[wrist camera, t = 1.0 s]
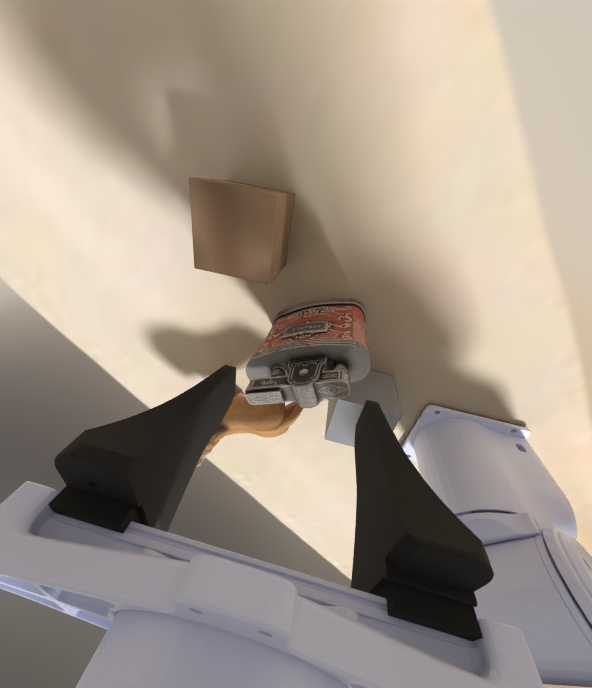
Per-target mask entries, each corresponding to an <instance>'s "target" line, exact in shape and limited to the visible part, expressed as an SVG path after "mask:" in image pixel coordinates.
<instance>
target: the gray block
mask: <svg viewBox="0 0 592 688" xmlns="http://www.w3.org/2000/svg"><path fill="white" fill-rule="evenodd" d="M366 400H370V401H374V402H378V403H379V405H380V407H381V409H382V411H383V413H384V415H385V417H386V419H387V421H388V423H389V425H390V427H391V429H392V431H393V430H394V428H395V427H396V425H397V423H398V421H399V419H400V417H401V416H402V413H401V408H400V404H399V399H398V395H397V390H396V386H395V382H394V377H393V376H392V375H388V374H384V373H380V372H375V371H371V370H370V372H369V374H368V375H367V376H366V377H365V378H364V379H362V380H360V381H357V382H353V383H350V395H349V396H347V397H344V398H334V399H329V403H328V413H327V422H326V431H325V439H326V440H330V441H334V442H338V443H341V444H345V445H349V446H353V447H355V445H354V442H355V427H356V423H357V421H358V419H359V416H360V414H361V412H362V409H363V407H364V404H365V402H366Z"/></svg>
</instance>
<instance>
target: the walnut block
mask: <svg viewBox="0 0 592 688" xmlns="http://www.w3.org/2000/svg"><path fill="white" fill-rule="evenodd" d="M189 184H190V200H191V217H192V233H193V250H194V266H195V268H196V269H201V270H205V271H210V272H215V273H219V274H224V275H228V276H233V277H238V278H242V279H247V280H251V281H256V282H260V283H265V284H269V283H270V282H271V281H272V280H273V278H274V277H275V276H276V275H277V274H278V273H279V272H280V271H281V269H282V268H283V267H284V266H285V264H286V256H287V249H288V241H289V233H290V226H291V218H292V211H293V203H294V195H295V193H290V192H285V191H280V190H274V189H269V188H264V187H258V186H253V185H248V184H243V183H237V182H232V181H227V180H214V179H201V178H189Z"/></svg>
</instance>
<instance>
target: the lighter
mask: <svg viewBox="0 0 592 688" xmlns="http://www.w3.org/2000/svg"><path fill="white" fill-rule="evenodd" d="M365 321H366V312H365V308H364V306H363V304H362V303H361V302H360V301H358V300H356V299H326V300H318V301H312V302H308V303H304V304H301V305H297V306H294V307H292V308H289V309H287V310H284V311H282V312H280V313H278V314H277V316H276V317H275V319H274V321H273V324H272V328H271V330H270V332H269V333H268V335H267V337H266V339H265V340H264V342H263V344H262V345H261V347H260V349H259V351H258V352H257V353H255V354H254V355H253V356H252V357H251V359H250V361H249V362H248V364H247V366H246V373H247V377H248V378H249V380H250V383H249V385H248V386H247V388H246V390H245V393H244V394H245V397H246V399H247V400H248V402H249V404H251V405H260V404H273V403H284V402H296V403H298V405H299V406H300V407H302V408H312V407H315V406H317V405H318V404H319V403H320V402H321V401H323V400H324V399H334V398H344V397H347V396H349V395H350V383H353V382H357V381H360V380H362V379H364V378H365V377H366V376H367V375H368V374H369V372H370V370H371V357H370V353H369V350H368V348H367V346H366V335H365V325H364V324H365Z"/></svg>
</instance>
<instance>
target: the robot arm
mask: <svg viewBox="0 0 592 688" xmlns="http://www.w3.org/2000/svg"><path fill="white" fill-rule="evenodd" d="M235 383H236V367H232V366H228V365H225V366H223V367H221V368H220V369H219V370H217V371H216V372H214V373H213V374H212V375H210V376H209V377H207V378H206V379H204V380H203V381H201V382H200V383H198V384H197V385H195V386H194V387H192V388H190V389H189V390H187V391H185V392H184V393H182V394H180V395H179V396H177V397H175V398H173V399H171V400H169V401H167V402H165V403H163V404H161V405H159V406H157V407H154V408H152V409H150V410H148V411H145V412H142V413H140V414H138V415H135V416H132V417H130V418H127V419H124V420H121V421H117V422H114V423H111V424H108V425H104V426H100V427H97V428H93V429H89V430H85V431H84V432H83V433H82V434H80V435H79V436H78V437H77V438H76V439H75V440H74V441H73V442H71V443H70V444H69V445H68V446H67V447H66V448H65V449H64V450H63V451H62V452H61V453H59V454H58V455H57V456H56V458H55V466H56V469H57V470H58V472H59V474H60V475H61V477H62V478H63V480H64V482H65V483H66V485H67V486H66V487H65V488H64V489H63V490H62V491H61V492H60V493H59V492H58V491H56V490H55V489H52V488H50V487H47V486H43V485H40V484H37V483H33V482H30V481H28V482H25V483H24V484H23V485H22V486H20V487H19V488H18V489H17V490H16V491H15V492H14V493H13V494H11V495H10V496H9V497H8V498H7V499H6V500H5V501H4V502H3V503H2V504H0V589H3V590H6V591H9V592H12V593H14V594H17V595H20V596H23V597H25V598H28V599H31V600H33V601H36V602H38V603H41V604H44V605H46V606H49V607H51V608H54V609H56V610H59V611H62V612H64V613H67V614H69V615H72V616H74V617H77V618H79V619H82V620H85V621H87V622H89V623H92V624H95V625H97V626H100V627H102V628H105V629H107V632H106V634H105V636H104V637H103V639H102V641H101V643H100V645H99V647H98V648H97V650H96V652H95V654H94V656H93V657H92V659H91V661H90V663H89V664H88V666H87V668H86V670H85V672H84V673H83V675H82V677H81V679H80V681H79V683H78V684H77V686H76V688H554V687H544V686H543V684H553V685H568V686H584V687H592V557H591V556H590V554H589V553H588V552H587V551H586V550H585V549H584V547H583V546H582V545H581V544H580V543H579V542H578V541H577V540H576V538H577V525H576V519H575V515H574V512H573V509H572V507H571V505H570V503H569V501H568V499H567V498H566V496H565V495H564V493H563V492H562V490H561V489H560V487H559V486H558V485H557V483H556V482H555V480H554V479H553V477H552V476H551V475H550V473H549V472H548V470H547V469H546V467H545V466H544V465H543V463H542V462H541V460H540V459H539V457H538V456H537V454H536V453H535V452H534V450H533V449H532V447H531V446H530V444H529V443H528V442H527V440H526V439H527V438H528V437H529V436H530V434H531V432H530V430H529V429H528V428H526V427H522V426H518V425H513V424H509V423H505V422H501V421H497V420H493V419H489V418H485V417H481V416H477V415H472V414H468V413H464V412H460V411H456V410H452V409H448V408H444V407H440V406H436V405H428V406H427V407H426V408H425V409H424V411H423V413H422V414H421V416H420V418H419V419H418V421H417V423H416V424H415V426H414V427H413V429H412V431H411V432H410V434H409V436H408V437H407V439H406V441H405V442H404V444H403V445H402V447H401V445H400V443H399V442H398V440H397V438H396V436H395V434H394V433H393V431H392V429H391V427H390V425H389V423H388V421H387V419H386V417H385V415H384V413H383V411H382V409H381V407H380V405H379V403H378V402H374V401H370V400H366V402H365V404H364V407H363V409H362V412H361V414H360V416H359V419H358V421H357V423H356V427H355V442H354V445H355V464H356V481H357V507H356V528H355V544H354V558H353V570H352V581H351V582H352V583H351V588H350V587H346V586H343V585H340V584H337V583H334V582H330V581H327V580H324V579H320V578H317V577H313V576H310V575H307V574H304V573H301V572H297V571H294V570H291V569H287V568H284V567H281V566H277V565H274V564H270V563H268V562H264V561H261V560H258V559H254V558H251V557H248V556H244V555H241V554H237V553H234V552H231V551H228V550H225V549H221V548H218V547H215V546H211V545H208V544H205V543H202V542H198V541H195V540H191V539H188V538H185V537H182V536H178V535H175V534H172V533H168V532H167V531H168V529H169V526H170V524H171V522H172V519H173V517H174V515H175V512H176V510H177V507H178V505H179V503H180V501H181V498H182V496H183V494H184V492H185V489H186V487H187V485H188V483H189V481H190V478H191V476H192V474H193V472H194V469H195V468H196V466H197V464H198V461H199V459H200V457H201V455H202V453H203V451H204V450H205V448H206V446H207V444H208V443H209V441H210V439H211V438H212V436H213V434H214V433H215V431H216V430H217V428H218V426H219V425H220V423H221V421H222V420H223V418H224V416H225V415H226V413H227V411H228V409H229V407H230V405H231V403H232V401H233V398H234V396H235ZM436 411H437V412H436ZM410 460H413V461H417V462H418V466H419V470H420V473H419V472H418V471H417V469H416V468H415V467H414V465H413V464H412V462H411V461H410Z"/></svg>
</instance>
